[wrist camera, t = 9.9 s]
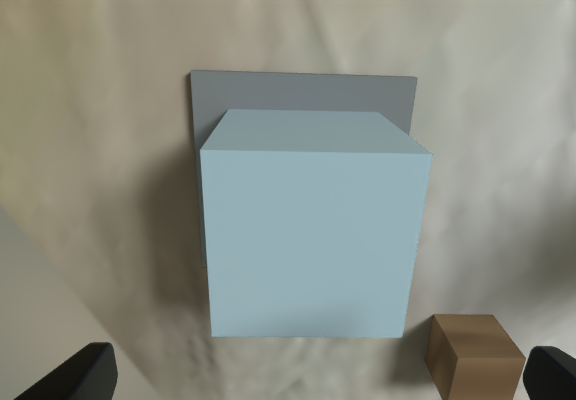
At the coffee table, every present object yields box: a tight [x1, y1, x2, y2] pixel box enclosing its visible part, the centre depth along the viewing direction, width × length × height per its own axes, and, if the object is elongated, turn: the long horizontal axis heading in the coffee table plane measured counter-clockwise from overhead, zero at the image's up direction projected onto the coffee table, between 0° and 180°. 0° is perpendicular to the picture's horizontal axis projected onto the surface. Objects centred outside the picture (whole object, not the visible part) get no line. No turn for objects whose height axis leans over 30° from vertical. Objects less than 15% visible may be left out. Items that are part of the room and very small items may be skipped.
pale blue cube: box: [200, 109, 433, 337], centre depth 16 cm, size 7×7×7 cm
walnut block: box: [425, 314, 526, 400], centre depth 22 cm, size 4×4×4 cm
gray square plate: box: [190, 70, 417, 268], centre depth 20 cm, size 10×10×1 cm
